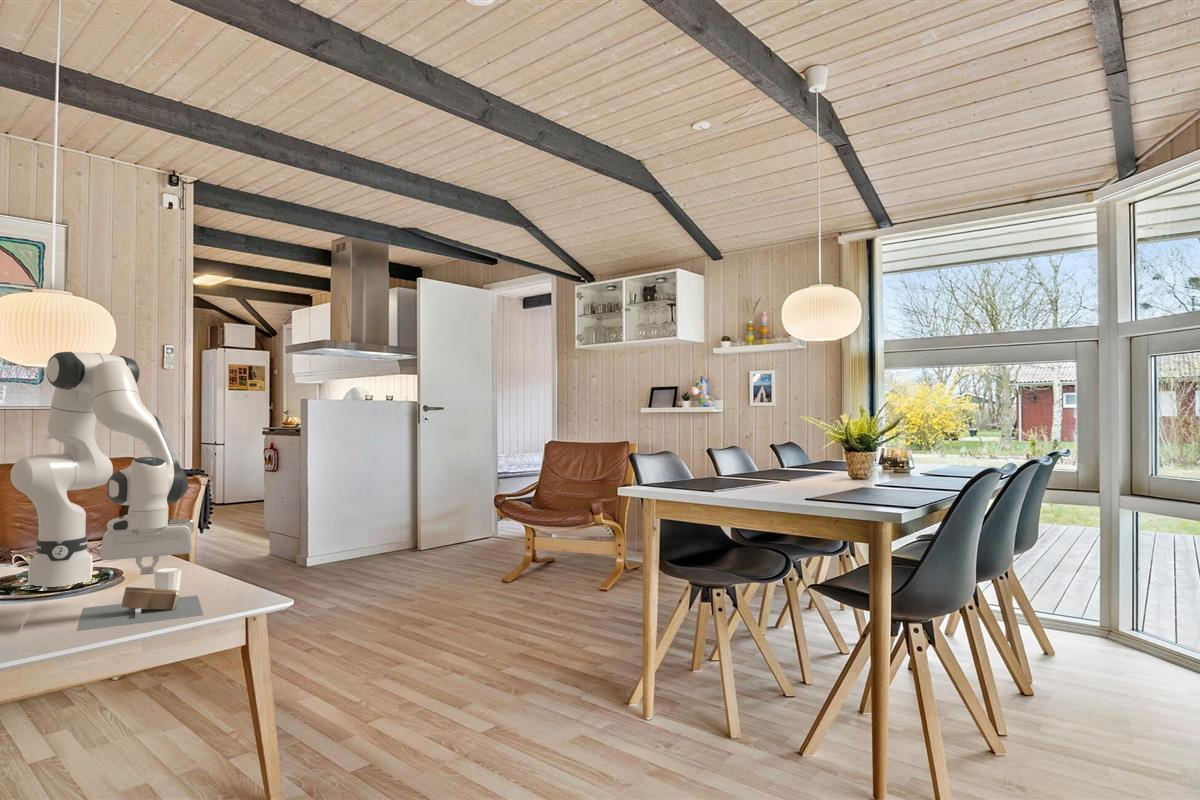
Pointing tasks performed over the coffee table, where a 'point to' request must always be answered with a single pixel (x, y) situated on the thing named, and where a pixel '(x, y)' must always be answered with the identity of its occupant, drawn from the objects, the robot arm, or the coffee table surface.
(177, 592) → the walnut block
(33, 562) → the robot arm
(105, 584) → the coffee table surface
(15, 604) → the coffee table surface
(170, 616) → the slate mat
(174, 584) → the white cup
